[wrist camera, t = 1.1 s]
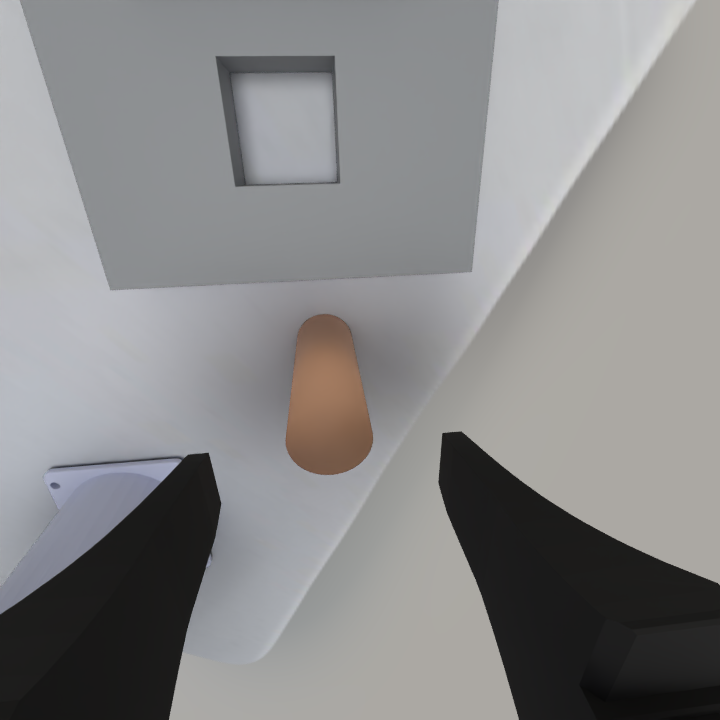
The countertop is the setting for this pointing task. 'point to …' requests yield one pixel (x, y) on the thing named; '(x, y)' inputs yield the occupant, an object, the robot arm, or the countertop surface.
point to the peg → (327, 400)
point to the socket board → (221, 141)
